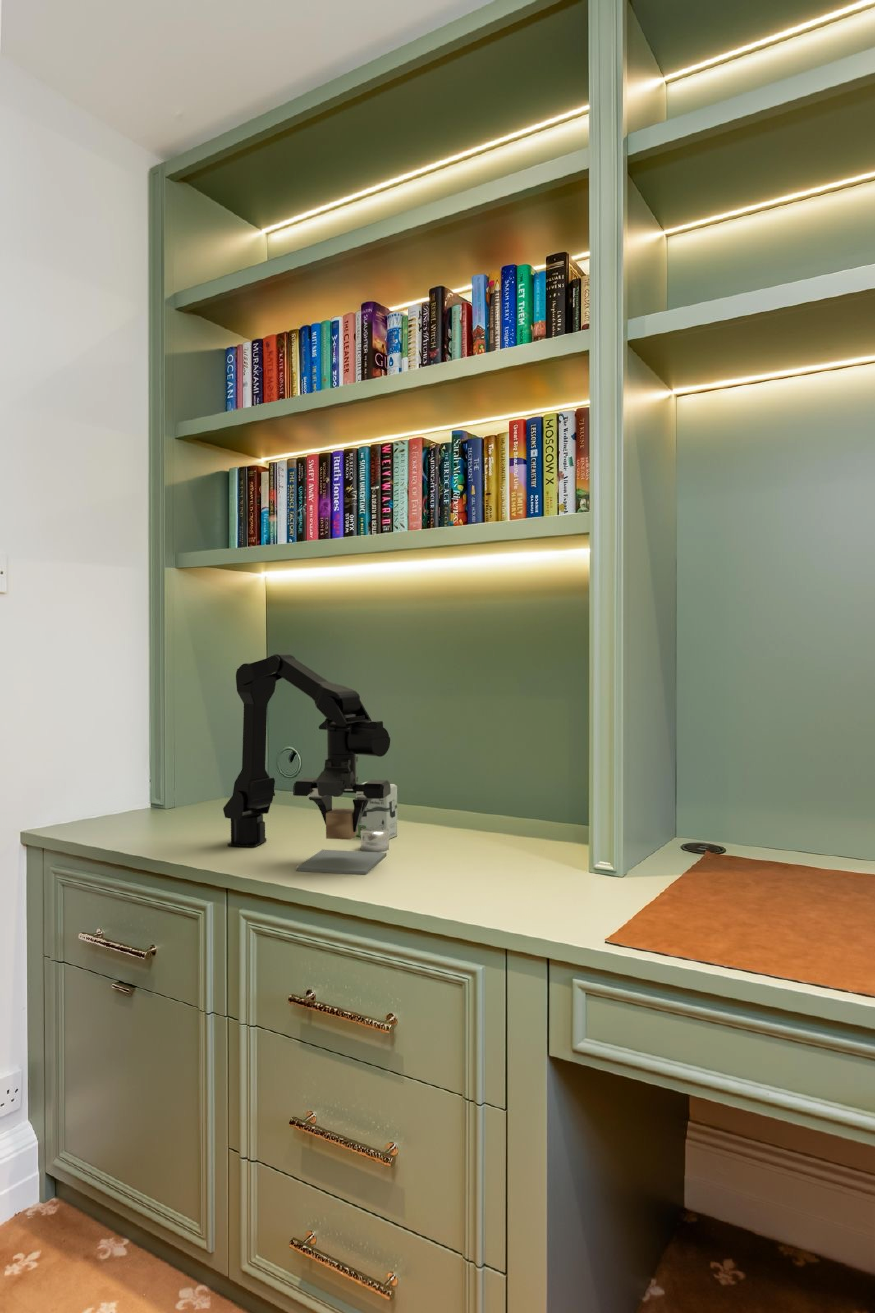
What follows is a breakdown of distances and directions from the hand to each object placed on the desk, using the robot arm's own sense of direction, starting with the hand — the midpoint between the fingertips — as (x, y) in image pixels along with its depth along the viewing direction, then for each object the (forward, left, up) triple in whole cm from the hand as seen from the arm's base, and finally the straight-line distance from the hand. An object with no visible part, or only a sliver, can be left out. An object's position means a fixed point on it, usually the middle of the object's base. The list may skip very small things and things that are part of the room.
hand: (342, 831), depth 159 cm
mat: (0, 0, -6) cm, 6 cm away
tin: (+3, +12, -6) cm, 14 cm away
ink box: (0, +23, -7) cm, 24 cm away
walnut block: (0, 0, -1) cm, 1 cm away
